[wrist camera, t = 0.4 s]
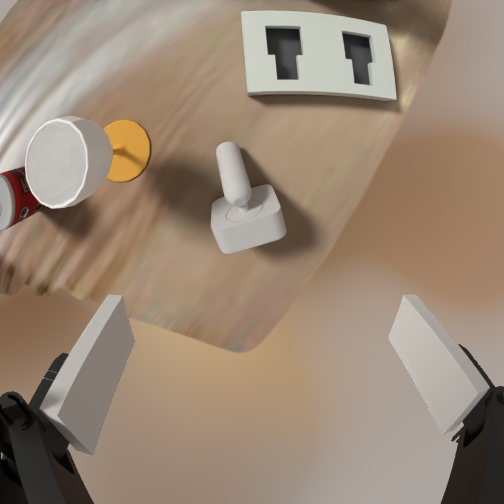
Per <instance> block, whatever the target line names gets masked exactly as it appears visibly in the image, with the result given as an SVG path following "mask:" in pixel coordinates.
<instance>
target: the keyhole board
mask: <svg viewBox="0 0 504 504" xmlns="http://www.w3.org/2000/svg"><path fill="white" fill-rule="evenodd" d="M241 23H242V35H243V47H244V59H245V72H246V84H247V96H257V95H327V96H342V97H354V98H364V99H372V100H380V101H391V100H397V98H396V87H395V78H394V70H393V62H392V56H391V49H390V44H389V38H388V33H387V28H386V25H383V24H378V23H374V22H370V21H365V20H360V19H355V18H349V17H343V16H336V15H329V14H320V13H310V12H295V11H244V12H241Z"/></svg>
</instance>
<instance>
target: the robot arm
mask: <svg viewBox="0 0 504 504" xmlns="http://www.w3.org/2000/svg"><path fill="white" fill-rule="evenodd" d="M388 339H389V341H390V342H391V344H392V345H393V347H394V349H395V350H396V352H397V354H398V355H399V357H400V359H401V361H402V362H403V364H404V366H405V367H406V369H407V371H408V373H409V374H410V376H411V378H412V380H413V381H414V383H415V385H416V387H417V389H418V390H419V392H420V394H421V396H422V398H423V399H424V401H425V403H426V405H427V407H428V409H429V411H430V413H431V415H432V417H433V418H434V420H435V422H436V424H437V426H438V428H439V430H440V432H441V434H442V435H444V434H446V433H448V432H451V431H453V430H455V428H456V427H457V426H458V425H459V424H460V423H461V422H463V424H464V426H463V427H462V428H461V429H460V431H458V432H457V433H456V434H455V436H453V438H452V440H451V441H454V440H455V439H456V438H457V437H458V436H459V435H460V436H459V439H458V440H457V441H456V442H457V443H458V446H457V451H456V455H455V459H454V463H453V467H452V471H451V474H450V478H449V481H448V484H447V487H446V490H445V493H444V496H443V499H442V502H441V504H504V387H503V386H498V387H495V386H494V385H493V383H492V382H491V380H490V379H489V378H488V376H487V375H486V374H485V372H484V371H483V369H482V368H481V367H480V365H478V363H477V361H476V360H475V359H473V357H472V355H471V354H470V353H469V351H468V350H467V349H466V348H464V347H463V346H461V345H460V344H457V342H456V341H455V340H454V339H453V337H452V336H451V335H450V334H449V333H448V331H447V330H446V329H445V328H444V327H443V325H442V324H441V323H440V322H439V321H438V319H437V318H436V317H435V316H434V315H433V314H432V313H431V311H430V310H429V309H428V308H427V307H426V306H425V305H424V304H423V302H422V301H421V300H420V299H419V298H418V297H417V296H416V295H415V294H411V295H403V298H402V301H401V304H400V307H399V311H398V313H397V316H396V319H395V321H394V324H393V327H392V329H391V332H390V334H389V337H388ZM134 343H135V340H134V336H133V333H132V329H131V325H130V322H129V318H128V314H127V310H126V306H125V302H124V298H123V296H121V295H108V296H107V297H106V299H105V300H104V302H103V303H102V305H101V306H100V308H99V309H98V311H97V312H96V313H95V315H94V316H93V318H92V319H91V321H90V322H89V324H88V326H87V327H86V328H85V330H84V332H83V333H82V335H81V336H80V338H79V340H78V341H77V343H76V344H75V346H74V347H73V349H72V351H71V352H70V354H66V353H62V354H61V355H60V356H59V357H57V358H56V359H55V360H54V361H53V363H52V364H51V366H50V368H49V369H48V370H49V371H48V372H47V373H46V374H45V376H44V379H43V380H42V381H41V383H40V385H39V386H38V388H37V390H36V392H35V394H34V395H33V397H32V399H31V401H30V403H29V405H28V404H27V403H26V402H25V400H24V399H23V398H22V396H20V395H19V394H18V393H16V392H13V391H12V392H7V393H5V394H3V395H2V396H1V397H0V504H94V502H93V501H92V499H91V497H90V495H89V493H88V491H87V489H86V487H85V485H84V483H83V481H82V480H81V477H80V475H79V473H78V471H77V469H76V466H75V464H74V461H73V459H72V457H71V454H70V452H69V451H68V449H67V447H68V445H69V443H70V444H71V445H72V446H73V447H74V448H75V449H76V450H78V451H81V452H84V453H87V454H90V455H93V454H94V451H95V448H96V445H97V441H98V438H99V435H100V432H101V429H102V426H103V423H104V421H105V418H106V415H107V412H108V409H109V406H110V404H111V401H112V398H113V396H114V393H115V390H116V388H117V385H118V382H119V380H120V377H121V375H122V372H123V369H124V367H125V365H126V362H127V360H128V357H129V355H130V353H131V350H132V348H133V345H134ZM1 453H2V454H3V457H2V459H1Z"/></svg>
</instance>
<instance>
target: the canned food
mask: <svg viewBox="0 0 504 504" xmlns="http://www.w3.org/2000/svg"><path fill="white" fill-rule="evenodd" d="M46 207H47V206H45V205H43V204H41V203H40V202H39V201H38V200H37V199H36V197H35V196H34V195H33V194H32V192H31V190H30V187H29V185H28V182H27V179H26V171H25V167H21V168H17V169H14V170H10V171H7V172H3V173H1V174H0V230H5V229H7V228H9V227H11V226H13V225H15V224H16V223H18V222H20V221H22V220H24V219H25V218H27V217H29V216H31V215H33V214H35V213H37V212H39V211H41V210H43V209H44V208H46Z"/></svg>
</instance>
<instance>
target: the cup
mask: <svg viewBox="0 0 504 504" xmlns="http://www.w3.org/2000/svg"><path fill="white" fill-rule="evenodd" d="M149 156H150V141H149V138H148V136H147V133H146V131H145V130H144V129H143V128H142V127H141V126H140V125H139V124H138V123H136V122H133V121H130V120H119V121H115V122H113V123H111V124H110V125H108V126H107V127H105V128H104V130H103V129H102V128H101V127H100V126H99V125H97V124H96V123H94V122H93V121H90V120H87V119H83V118H79V117H74V116H66V117H62V118H58V119H55V120H51V121H48V122H46V123H45V124H44V125H42V126H41V127H40V128H39V129H38V130H37V131H36V132H35V134H34V136H33V138H32V139H31V141H30V143H29V145H28V149H27V154H26V159H25V171H26V179H27V182H28V185H29V187H30V190H31V192H32V194H33V195H34V196H35V197H36V199H37V200H38V201H39V202H40V203H41V204H43V205H45V206H47V207H49V208H52V209H55V208H65V207H70V206H74V205H76V204H78V203H79V202H81V201H82V200H84V199H85V198H87V197H88V196H90V195H91V194H93V193H94V192H96V190H97V189H98V188H99V187H100V186H101V184H102V183H103V181H104V180H105V179H106V178H108V179H110V180H113V181H115V182H124V181H129V180H131V179H133V178H135V177H137V176H138V175H139V174H140V173H141V172H142V170H143V169H144V168H145V167H146V165H147V162H148V159H149Z"/></svg>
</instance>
